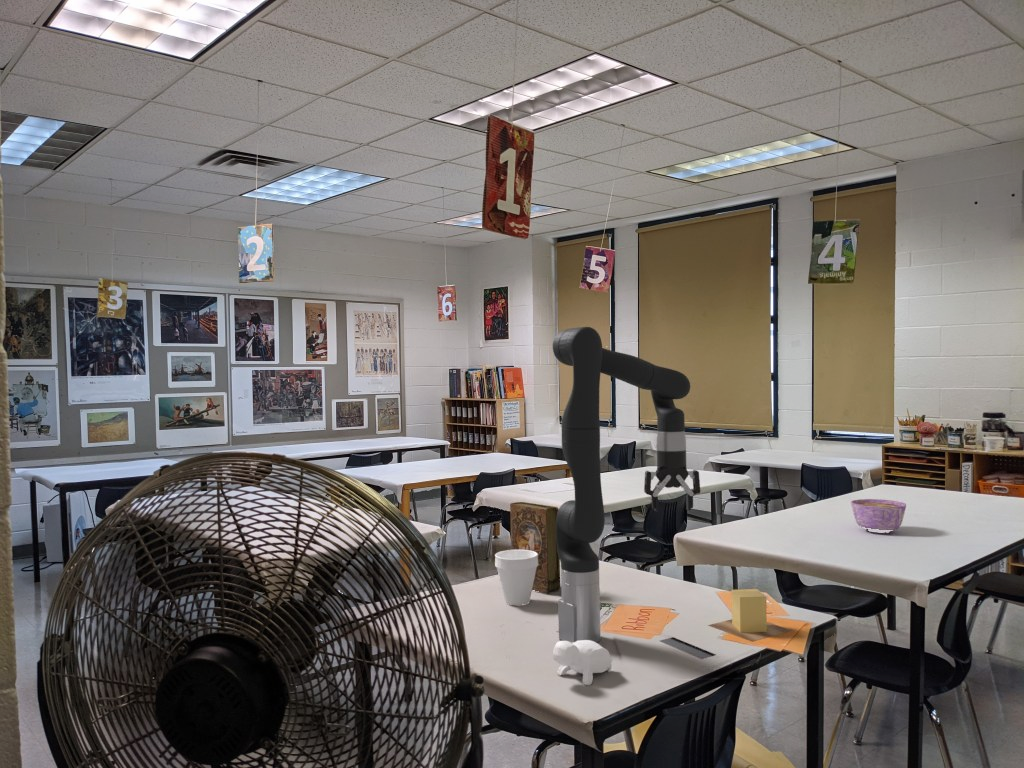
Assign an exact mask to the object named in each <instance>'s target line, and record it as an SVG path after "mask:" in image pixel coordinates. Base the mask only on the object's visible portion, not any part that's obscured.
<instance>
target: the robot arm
mask: <svg viewBox="0 0 1024 768" xmlns="http://www.w3.org/2000/svg"><path fill="white" fill-rule="evenodd" d="M552 351H553V355H554V357H555V358H556V359H557V361H559V362H560V363H562V364H563V365H566V366H568V367H569V366H570V367H572V376H573V377H572V388H571V393H570V396H569V398H568V401H567V404H566V405H565V408H564V411H563V413H562V414H563V415H562V417H561V418H562V419H561V449H562V453H563V455H564V458H565V461H566V463H567V464H566V465H567V467H568V470H569V472H570V474H571V477H572V482H573V486H574V499H573V500H571V499H570V500H567V501H564V503H562V504H561V505H560V506H559V507H558V509H559V510H558V513H557V516H556V539H557V552H558V556H559V559H560V589H561V594H560V595H561V599H558V600H557V601H558V602H557V606H558V607H557V609H558V610H557V613H558V639H559V641H569V642H571V643H572V642H576V641H578V640H579V641H581V640H590V641H594V642H596V643H599V642H600V641H601V597H600V594H601V593H600V559H599V556H598V554H597V553H596V552H595V551H594V550H593V549H592V547H591V543H595V542H596V541H598V540H599V539H600V538H601V536H602V535H603V532H604V528H605V522H606V517H605V509H604V507H605V506H604V499H603V493H602V481H601V479H602V477H601V425H600V424H601V422H600V386H601V385H600V384H601V383H600V382H601V374H604V375H607V376H609V377H611V378H614V379H617V380H620V381H621V382H624V383H627V384H629V385H631V386H635V387H636V388H639V389H642V390H647V391H650V394H651V395H650V396H651V398H652V402H653V406H654V409H655V413H656V418H657V419H656V420H657V422H656V423H657V424H656V426H657V434H656V435H657V436H656V445H655V447H656V470H655V471H649V470H645V472H644V483H643V484H644V487H643V488H644V489H643V493H645V494H646V495H647V496H651V497H650V498H651V508H652V509H653V510H654V511H655V512H658V511H659V496H658V495H659V494H660V493H661V492H662V490H664V488H667V489H670V488H678V489H679V488H680V487H681V488H682V490H683V491H684V492H685V494H686V495H685V509H686V511H691V510H692V509H693V507H694V496H695V495H697V494H698V495H699V494H701V481H700V472H699V471H698V470H696V469H693V470H688V469H687V438H686V431H685V430H686V428H685V427H686V424H685V423H686V422H685V421H686V420H685V413H684V411H683V410H682V409H680V408H678V407H676V405H675V402H674V400H682V399H684V398H686V397H687V396H688V394H689V393H690V390H691V382H690V379H689V378H688V377H687V375H686V374H684V373H682V372H681V371H678V370H676V369H675V370H674V369H672V368H667V367H664V366H659V365H656V364H654V363H652V362H649V361H647V360H645V359H643V358H640V357H637V356H635V355H632V354H627V353H623V352H619V351H615V350H610V349H607V348H604V347H603V342H602V339H601V336H600V334H599V332H598V331H597V330H596V329H594V327H590V326H581V327H580V326H579V327H574V328H573V327H571V328H566V329H564V330H561V331H559V332H558V333H557V334H556V335H555V337H554V338H553V342H552ZM655 477H656V478H657V480H658V482H657V483H655V486H654V488H653V489H652V486H651V485H652V480H654V478H655ZM688 477H689V478H690V479H692V487H693V488H692V489H691V487H690V486H689V485H688V484H687V482H686V480H687V478H688ZM651 489H652V490H651Z"/></svg>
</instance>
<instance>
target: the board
mask: <svg viewBox="0 0 1024 768" xmlns="http://www.w3.org/2000/svg"><path fill="white" fill-rule="evenodd" d="M707 626H709V627H711V628H714V629H717V630H719V631H722V632H725V633H728V634H730V635H733V636H735V637H739V638H740V639H744V640H747V641H750V642H756V641H759V640H763V639H766V638H770V637H774V636H777V635H781V634H784V633H789V632H792V631H793V630H792V629H790V628H787V627H783V626H780V625H777V624H774V623H772V622H769V621H767V632H740V631H739V630H738V629H737V628H736V627H735V626H734V625H733V624H732V618H731V619H728V620H724V621H719V622H716V623H711V624H708V625H707Z"/></svg>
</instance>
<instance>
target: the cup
mask: <svg viewBox="0 0 1024 768" xmlns="http://www.w3.org/2000/svg"><path fill="white" fill-rule="evenodd" d="M494 557H495V559H494V565H495V566H494V567H496V570H497V573H498V577H499V582H500V585H501V590H502V594H503V597H504V602H506V603H507V604H506V603H505V604H506V605H508V604H511V605H510V606H512V605H522V604H526V605H528V604H529V603H530V602H529V601H530V600H531V596H532V587H533V582H534V577H535V572H536V568H537V566H538V554H537V553H536V552H534V551H530V550H511V549H507V550H502V551H501V550H500V551H498V552H496V553H495V554H494ZM528 602H529V603H528ZM527 603H528V604H527ZM522 606H523V605H522Z"/></svg>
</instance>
